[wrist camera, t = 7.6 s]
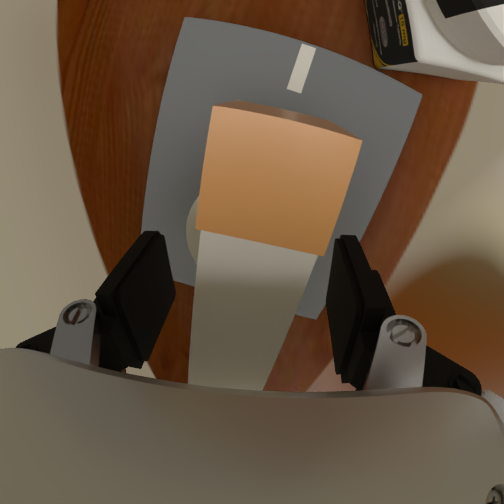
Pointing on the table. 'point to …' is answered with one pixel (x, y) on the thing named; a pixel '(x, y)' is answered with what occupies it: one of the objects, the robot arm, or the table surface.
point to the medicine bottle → (439, 37)
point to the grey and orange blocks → (259, 233)
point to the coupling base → (275, 95)
